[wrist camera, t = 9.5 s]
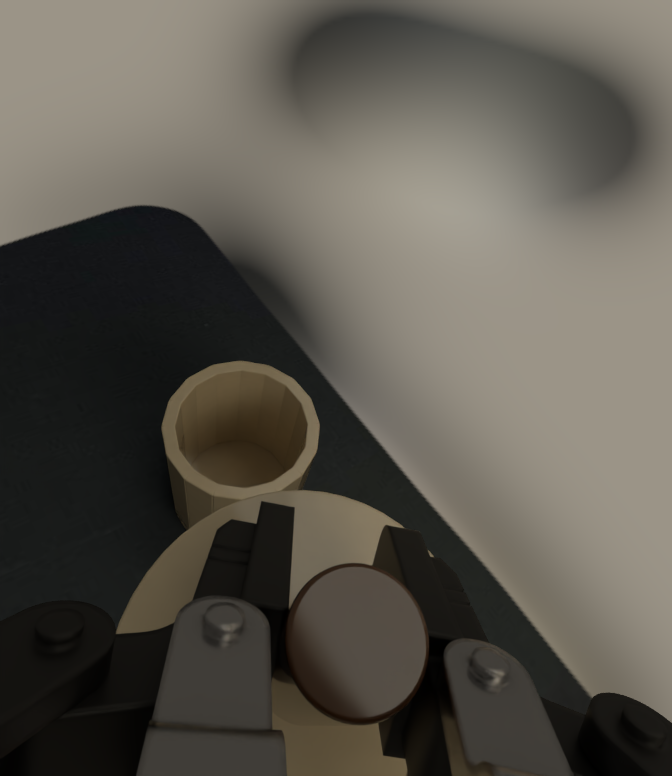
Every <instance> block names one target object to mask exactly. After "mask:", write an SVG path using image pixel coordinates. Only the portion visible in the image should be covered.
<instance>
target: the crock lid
mask: <svg viewBox="0 0 672 776" xmlns="http://www.w3.org/2000/svg"><path fill="white" fill-rule="evenodd" d="M261 501H265V502H270V503H275V504H280V505H285V506H291V507H295V514H294V530H293V547H292V564H291V580H290V597H289V610H288V612H287V614H286V617H285V619H284V622H283V625H282V628H281V632H280V636H279V643H278V656H277V661H276V665H275V669H274V673H273V677H272V682H271V686H272V726H273V729H275V730H282V732H283V734H284V738H285V748H286V767H287V776H406V773H407V765H406V760H405V759H402V758H395V757H389V756H383V752H382V746H381V739H380V732H379V725H378V723H379V722H383V721H385V720H387V719H389V718H391V717H393V716H394V715H396V714H397V713H399V712H400V711H401V710H403V709H404V708H405V707H406V706H407V705H408V704H409V703H410V701H411V700H412V699H413V698H414V696H415V695H416V693H417V692H418V690H419V688H420V686H421V684H422V682H423V679H424V677H425V673H426V670H427V666H428V660H429V636H428V630H427V625H426V622H425V619H424V616H423V613H422V611H421V609H420V606H419V605H418V603H417V601H416V599H415V598H414V596H413V595H412V594H411V592H410V591H409V590H408V589H407V588H406V586H405V585H404V584H403V583H402V582H400V581H399V580H398V579H397V578H396V577H394V576H393V575H391V574H390V573H388V572H387V571H385V570H383V569H381V568H378V567H375V566H372V564H373V561H374V557H375V553H376V549H377V546H378V542H379V538H380V535H381V532H382V530H383V528H384V526H385V525H389V526H394V527H400V528H404V527H403V526H402V525H400V524H399V523H397V522H396V521H394V520H393V519H391V518H390V517H388V516H387V515H385V514H384V513H382V512H380V511H378V510H376V509H374V508H372V507H370V506H368V505H366V504H364V503H361V502H358V501H356V500H353V499H350V498H347V497H344V496H340V495H335V494H331V493H326V492H319V491H308V490H289V491H277V492H271V493H265V494H259V495H256V496H253V497H249V498H246V499H242V500H239V501H237V502H235V503H232V504H230V505H228V506H225V507H223V508H221V509H219V510H217V511H215V512H214V513H212V514H210V515H208V516H207V517H205V518H203V519H202V520H200V521H199V522H197V523H196V524H195V525H193V526H192V527H191V528H189V529H188V530H187V531H185V532H184V533H183V534H182V535H180V536H179V537H178V538H177V539H176V540H175V541H174V542H173V543H172V544H171V545H170V546H169V547H168V548H167V549H166V550H165V551H164V552H163V553H162V554H161V555H160V556H159V558H158V559H157V560H156V561H155V563H154V564H153V565H152V566H151V568H150V569H149V570H148V571H147V572H146V574H145V576H144V577H143V579H142V580H141V582H140V583H139V585H138V587H137V588H136V590H135V591H134V593H133V595H132V596H131V598H130V600H129V602H128V605H127V607H126V609H125V611H124V613H123V615H122V617H121V619H120V621H119V624H118V627H117V630H116V633H115V634H123V633H138V632H147V631H152V630H157V629H160V628H163V627H166V626H168V625H170V624H172V623H174V622H175V619H176V616H177V614H178V612H179V611H180V609H181V608H182V607H184V606H185V605H186V604H188V603H189V602H191V601H192V599H193V597H194V594H195V591H196V588H197V585H198V582H199V579H200V577H201V574H202V571H203V568H204V565H205V562H206V559H207V557H208V554H209V551H210V548H211V546H212V542H213V539H214V537H215V534H216V531H217V529H218V528H219V527H221V526H222V525H224V524H225V523H227V522H228V521H229V520H231V519H234V520H239V521H244V522H250V523H255V524H256V523H257V519H258V514H259V509H260V505H261ZM427 550H428V549H427ZM428 552H429V550H428ZM429 555H430V557H434V556H433V555H432V554H431V553H430V552H429Z"/></svg>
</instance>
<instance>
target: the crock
mask: <svg viewBox="0 0 672 776" xmlns="http://www.w3.org/2000/svg"><path fill="white" fill-rule="evenodd" d="M319 429H320V424H319V421H318V418H317V415H316V412H315V409H314V406H313V403H312V400H311V398H310V397H309V396H308V395H307V393H306V392H305V391H304V390H303V389H302V388H301V387H300V385H299V384H298V383H297V382H296V381H295V380H294V379H293V378H291V377H289V376H288V375H286V374H284V373H282V372H280V371H278V370H277V369H275V368H273V367H271V366H268V365H263V364H258V363H252V362H246V361H234V362H228V363H221V364H215V365H211V366H209V367H207V368H206V369H204V370H202V371H200V372H198V373H196V374H194V375H193V376H191V377H189V378H188V379H186V380H185V382H184V383H183V384H182V385H181V386H180V387H179V389H178V390H177V391H176V392H175V393H174V395H173V396H172V397H171V398H170V400H169V401H168V404H167V408H166V411H165V415H164V419H163V422H162V427H161V430H162V436H163V442H164V448H165V454H166V460H167V465H168V471H169V477H170V483H171V489H172V495H173V500H174V506H175V511H176V514H177V516H178V517H179V519H180V521H181V523H182V524H183V526H184V527H185V528H186V530H188V529H189V528H191V527H192V526H193V525H195V524H196V523H197V522H199V521H200V520H202V519H203V518H205V517H207V516H208V515H210V514H212V513H214V512H215V511H217V510H219V509H221V508H223V507H225V506H228V505H230V504H232V503H235V502H237V501H239V500H242V499H246V498H249V497H253V496H256V495H259V494H265V493H271V492H277V491H289V490H302V489H303V486H304V483H305V481H306V478H307V476H308V473H309V470H310V468H311V465H312V463H313V460H314V457H315V455H316V452H317V448H318V438H319Z"/></svg>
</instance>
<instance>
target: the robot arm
mask: <svg viewBox="0 0 672 776" xmlns="http://www.w3.org/2000/svg"><path fill="white" fill-rule="evenodd" d="M294 514H295V507H291V506H285V505H280V504H275V503H270V502H265V501H261V505H260V509H259V514H258V519H257V523H256V524H255V523H250V522H244V521H239V520H234V519H231V520H229V521H228V522H227V523H225V524H224V525H222V526H221V527H219V528H218V529H217V531H216V534H215V537H214V539H213V542H212V546H211V548H210V551H209V554H208V557H207V559H206V562H205V565H204V568H203V571H202V574H201V577H200V579H199V582H198V585H197V588H196V591H195V594H194V597H193V599H192V601H191V602H189V603H188V604H186V605H185V606H184V607H182V608H181V609H180V611H179V612H178V614H177V616H176V619H175V622H174V623H172V624H170V625H168V626H166V627H163V628H160V629H157V630H152V631H147V632H138V633H123V634H115V633H116V628H115V623H114V622H113V620H112V618H111V617H110V616H109V614H108V613H106V612H105V611H104V610H102V609H101V608H99V607H97V606H94V605H92V604H89V603H84V602H80V601H52V602H47V603H42V604H39V605H35V606H32V607H30V608H27V609H25V610H23V611H21V612H19V613H17V614H15V615H13V616H11V617H9V618H6V619H4V620H2V621H0V776H287V767H286V748H285V738H284V734H283V732H282V730H275V729H273V726H272V686H271V682H272V677H273V673H274V669H275V665H276V661H277V656H278V643H279V636H280V632H281V628H282V625H283V622H284V619H285V617H286V614H287V612H288V610H289V597H290V580H291V564H292V547H293V530H294ZM372 566H375V567H378V568H381V569H383V570H385V571H387V572H388V573H390V574H391V575H393V576H394V577H396V578H397V579H398V580H399V581H400V582H402V583H403V584H404V585H405V586H406V588H407V589H408V590H409V591H410V592H411V594H412V595H413V596H414V598H415V599H416V601H417V603H418V605H419V606H420V609H421V611H422V613H423V616H424V619H425V622H426V625H427V630H428V636H429V660H428V666H427V670H426V673H425V677H424V679H423V682H422V684H421V686H420V688H419V690H418V692H417V693H416V695H415V696H414V698H413V699H412V700H411V701H410V703H409V704H408V705H407V706H406V707H405V708H404V709H403V710H401V711H400V712H399V713H397V714H396V715H394V716H393V717H391V718H389V719H387V720H385V721H383V722H379V723H378V725H379V732H380V739H381V746H382V752H383V756H389V757H395V758H402V759H405V760H406V765H407V773H406V776H672V723H671V722H670V721H668V720H667V719H666V718H665V717H663V716H662V715H660V714H659V713H658V712H656V711H654V710H653V709H651V708H650V707H648V706H646V705H645V704H643V703H641V702H639V701H637V700H634V699H632V698H629V697H627V696H624V695H620V694H615V693H600V694H597V695H596V696H594V697H593V698H592V700H591V702H590V705H589V707H588V710H587V712H586V715H584V714H581V713H579V712H576V711H574V710H571V709H569V708H566V707H564V706H561V705H559V704H556V703H554V702H551V701H549V700H546V699H544V698H542V697H540V696H539V694H538V692H537V690H536V687H535V685H534V683H533V680H532V678H531V677H530V675H529V673H528V672H527V670H526V669H525V668H524V667H523V666H522V664H521V663H520V662H519V661H517V660H516V659H515V658H514V657H513V656H511V655H510V654H509V653H507V652H505V651H504V650H502V649H500V648H499V647H496V646H494V645H492V644H490V643H489V642H488V640H487V638H486V635H485V633H484V631H483V629H482V627H481V625H480V623H479V621H478V619H477V616H476V614H475V612H474V610H473V608H472V606H470V602H469V600H468V597H467V595H466V593H464V592H463V591H464V589H463V587H462V585H461V583H460V581H459V578H458V576H457V574H456V573H455V572H454V571H453V570H452V569H451V568H450V567H449V566H448V565H447V564H446V563H445V562H444V561H443V560H442V559H441V558H436V557H430V555H429V552H428V550H427V547H426V545H425V542H424V540H423V538H422V535H421V533H420V532H419V531H415V530H410V529H405V528H400V527H394V526H389V525H385V526H384V528H383V530H382V532H381V535H380V538H379V542H378V546H377V549H376V553H375V557H374V561H373V564H372Z"/></svg>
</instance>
